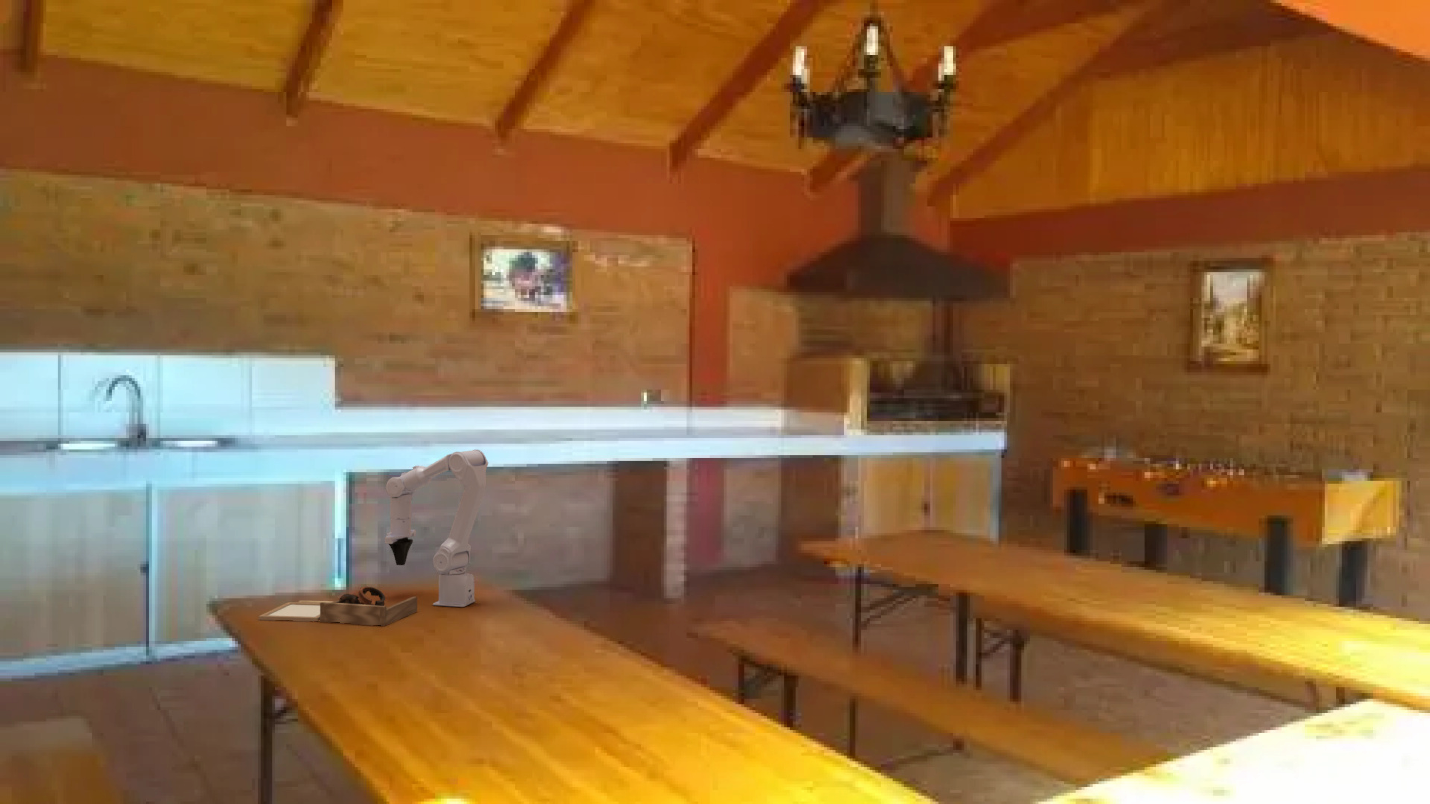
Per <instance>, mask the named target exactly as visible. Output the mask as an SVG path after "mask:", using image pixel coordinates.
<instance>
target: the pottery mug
mask: <svg viewBox="0 0 1430 804" xmlns="http://www.w3.org/2000/svg"><path fill="white" fill-rule="evenodd" d="M368 592H369V593H370V596H372V597H373V596H374V597H378V598H379V600H375V603H372V602H373V600H372V599H371V598H370V597H368V596H367V595H366V594H367V593H368ZM338 600H339V603H345V601H346V600H349V603H348V604H362V605H377V606H386V604H385V600H386V596H385V594H384V593H383V592H382V591H381V590H380V589H378V588H375V587H372V586H362V587H360V589H358V590H357V591H355V592H354V593H353V595H352V594H351V593H350V594H349V593H344V594H343V595H341V596H340V597H339V599H338ZM359 601H360V602H359Z"/></svg>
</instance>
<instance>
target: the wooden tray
mask: <svg viewBox="0 0 1430 804" xmlns="http://www.w3.org/2000/svg"><path fill="white" fill-rule="evenodd" d="M353 594H354V593H353ZM353 594H351V595H353ZM333 601H334V602H321V603H320V623H330V622H340V623H339V624H344V623H351V624H350V625H358V624H359V625H361V626H373V625H381V626H380V627H386V626H388V625H390V624H392V623H395V622H397V621H399V620H401V619H403V618H405V617H408V616H410V615H413V614H415V613H417V612H416V611H418V597H417V596H411V597H409V598H406V599H404V600H401V601H398V602H397V603H395V604H392V605H390V606H387V605H384V606H377V605H365V604H364V605H362V604H348V603H349V600H346V601H345V603H339V599H337V600H333ZM359 602H360V601H359ZM396 620H397V621H396ZM391 622H392V623H391ZM359 625H358V626H359ZM385 625H386V626H385Z"/></svg>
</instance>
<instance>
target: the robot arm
mask: <svg viewBox="0 0 1430 804" xmlns="http://www.w3.org/2000/svg"><path fill="white" fill-rule="evenodd" d="M488 466H489V462H488V460H487V457H486V455H485V453H484V452H483V451H481V450H480V449H472V450H466V451H465V450H464V451H454V452H452V453H449V454H446V455H445V456H444V457H441V458H440V459H438V460H437V461H435V462H433V463H431V464H430V465H428V466H423V465H418V464H417V465H415V466H413V467H412V469H411V470H409V471H405V472H401V475H400V476H393V477H391V478H390V479H388V480H387V483H386V485H385V490H386V493H387V494H388V496H389V498H390V500H389V501H390V507H389V508H390V510H389V511H390V519H389V520H390V531H389V532H387V533H386V536H385V537H384V544H388V545H389V547H390V549H391V551H392V554H393V556H394V560H395V564H396V566H405V564H406V563H407V559H408V554H409V551H410V548H411V546H412V544H413V543H414V541H413V539H411V537H416V535H417V532H416V529H412V500H413V495H414V493H415V492H416V491H417V490H420V489H421V488H423V487H425V486H427V485H429V484H430V483H431V481H432V479H433V478H434V477H437V476H438V475H440V474H443V473H445V472H448V471H449V472H451V473H452V474H453V475H454V476H455V478H456V479H457V480H458V481H459V482H460V483H461V484H462V485H463V487H464V489H463V493H462V495H461V499H460V501H459V503H458V506H457V507H458V508H457V510H456V513H455V517H454V519H453V522H452V526H451V529H450V531H449V535H448V538H447V539H445V541H443V542H442V543H441V545H440V546H439V548H438V551H436V553H435V554H434V556H433V559H432V562H433V563H432V565H433V567H434V569H435V570H436V571H437V574H438V601H435V602H433V603H432V605H433V606H441V607H443V606H444V607H455V608H456V607H458V608H459V607H460V608H463V607H467V606H468V605H471V604H473V603H475V602H476V599H475V577H474V574H472V573H468V572H466V571H467V567H468V566H469V565H470V562H471V550H472V546H471V544H469V539H470V536H471V533H472V530H473V527H474V524H475V522H476V518H477V515H478V511H479V509H480V506H481V504H482V501H483V500H482V499H483V497H484V495H485V491H486V488H487V472H486V471H487V468H488Z"/></svg>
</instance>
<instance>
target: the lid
mask: <svg viewBox="0 0 1430 804" xmlns="http://www.w3.org/2000/svg"><path fill="white" fill-rule="evenodd" d="M334 601H335V600H333V601H332V600H331V601H330V600H329V601H328V600H299V601H296V602H295V601H290V602H286V603H284V604H282V605H279V606H277V607H275V608H273V609H271V610H269V611H267V612H265V613H262V614H261V615H258V621H275V620H293V621H292V622H310V621H313V622H314V621H318V622H319V620H320V603H321V602H334ZM313 622H312V623H313ZM310 623H311V622H310ZM314 623H315V622H314Z"/></svg>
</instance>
